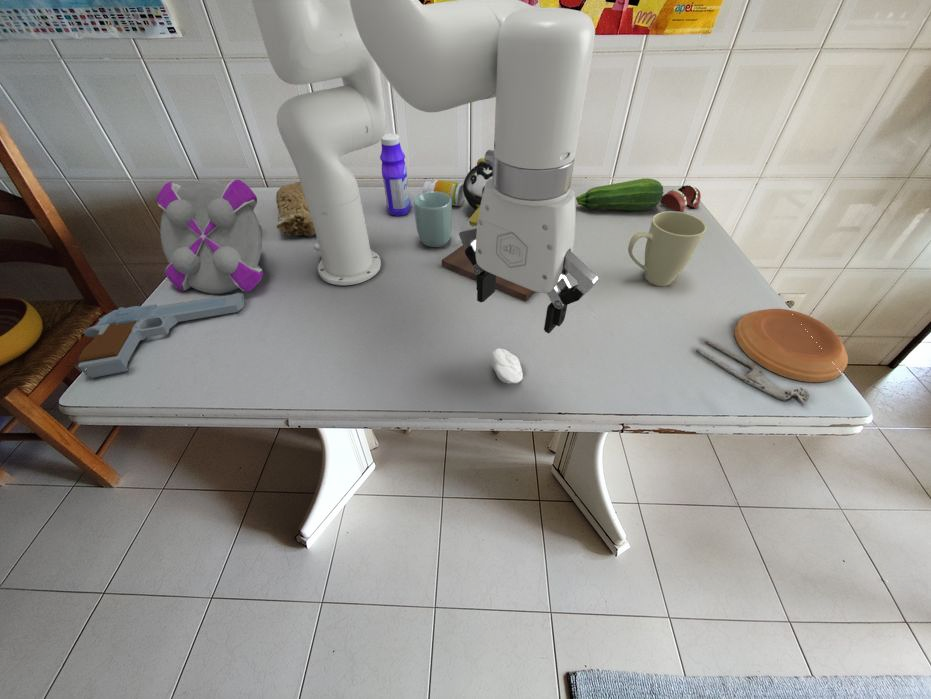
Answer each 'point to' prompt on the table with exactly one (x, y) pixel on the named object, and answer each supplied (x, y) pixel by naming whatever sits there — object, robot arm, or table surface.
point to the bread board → (463, 266)
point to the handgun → (142, 330)
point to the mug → (668, 245)
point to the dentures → (682, 198)
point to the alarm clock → (476, 187)
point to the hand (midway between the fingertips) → (518, 310)
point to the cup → (433, 218)
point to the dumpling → (506, 366)
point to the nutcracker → (759, 378)
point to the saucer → (791, 344)
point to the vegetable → (623, 196)
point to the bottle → (394, 175)
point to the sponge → (293, 211)
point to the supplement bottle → (447, 190)
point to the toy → (210, 236)
